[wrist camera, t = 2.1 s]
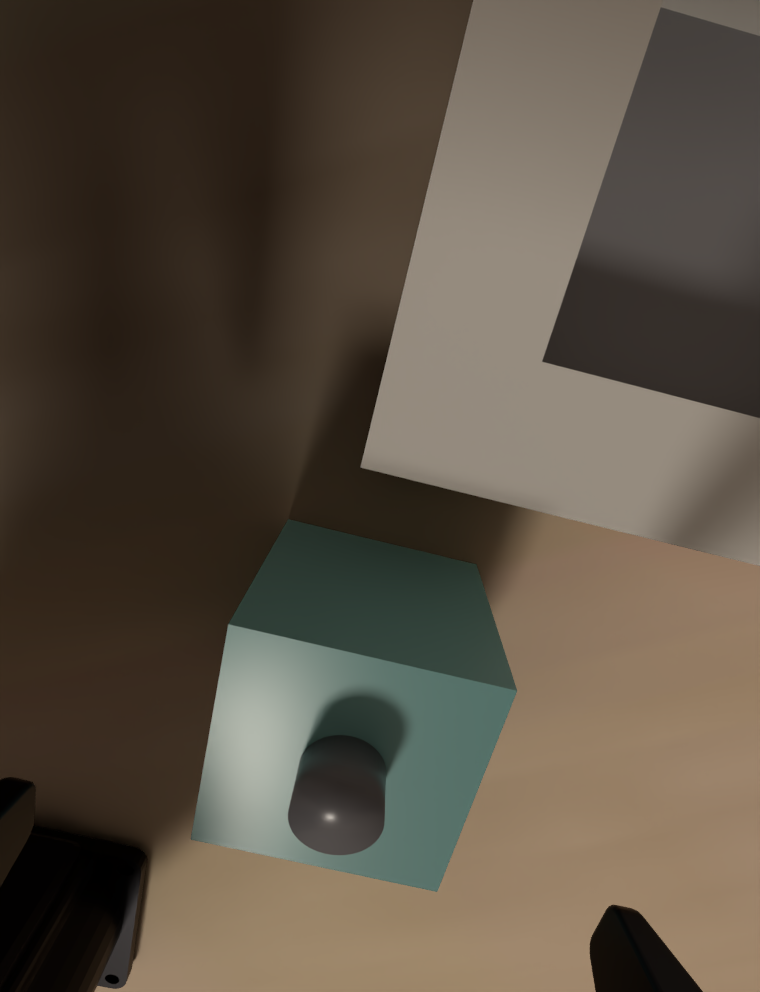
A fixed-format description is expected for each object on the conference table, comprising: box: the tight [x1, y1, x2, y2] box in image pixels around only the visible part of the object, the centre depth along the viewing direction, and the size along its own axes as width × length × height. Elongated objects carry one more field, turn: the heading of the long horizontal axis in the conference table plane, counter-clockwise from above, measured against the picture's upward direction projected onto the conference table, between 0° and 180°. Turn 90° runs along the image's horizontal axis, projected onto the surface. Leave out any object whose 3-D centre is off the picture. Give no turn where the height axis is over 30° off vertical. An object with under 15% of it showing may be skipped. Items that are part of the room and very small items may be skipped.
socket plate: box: [360, 0, 760, 566], centre depth 10 cm, size 12×12×2 cm
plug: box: [191, 519, 517, 892], centre depth 11 cm, size 5×5×6 cm
